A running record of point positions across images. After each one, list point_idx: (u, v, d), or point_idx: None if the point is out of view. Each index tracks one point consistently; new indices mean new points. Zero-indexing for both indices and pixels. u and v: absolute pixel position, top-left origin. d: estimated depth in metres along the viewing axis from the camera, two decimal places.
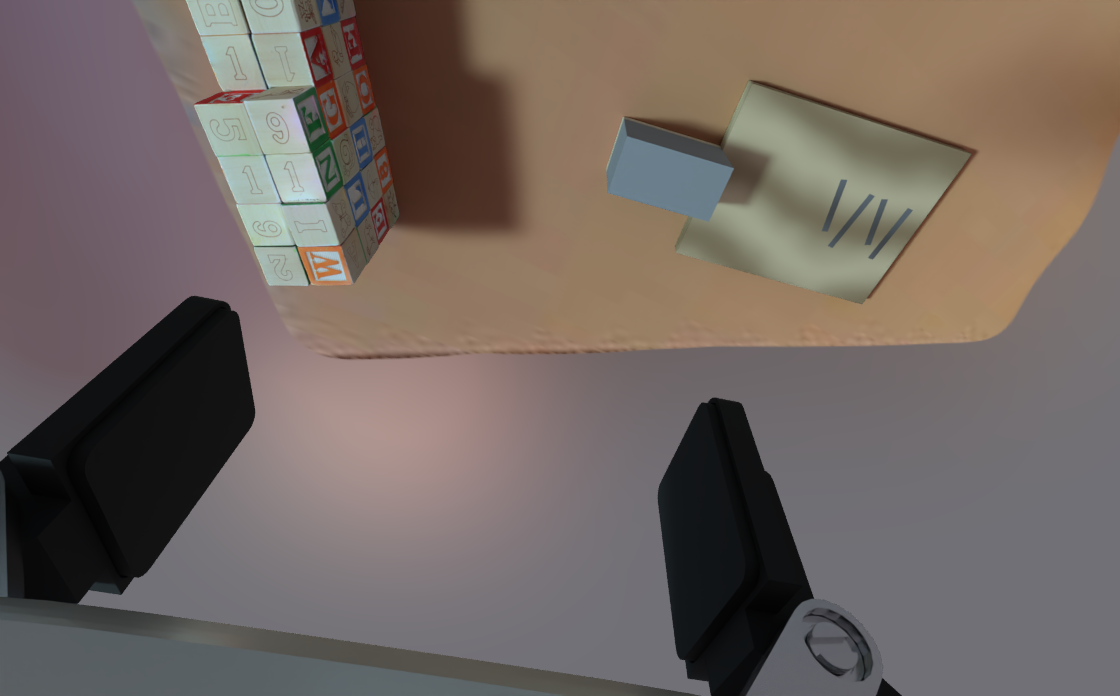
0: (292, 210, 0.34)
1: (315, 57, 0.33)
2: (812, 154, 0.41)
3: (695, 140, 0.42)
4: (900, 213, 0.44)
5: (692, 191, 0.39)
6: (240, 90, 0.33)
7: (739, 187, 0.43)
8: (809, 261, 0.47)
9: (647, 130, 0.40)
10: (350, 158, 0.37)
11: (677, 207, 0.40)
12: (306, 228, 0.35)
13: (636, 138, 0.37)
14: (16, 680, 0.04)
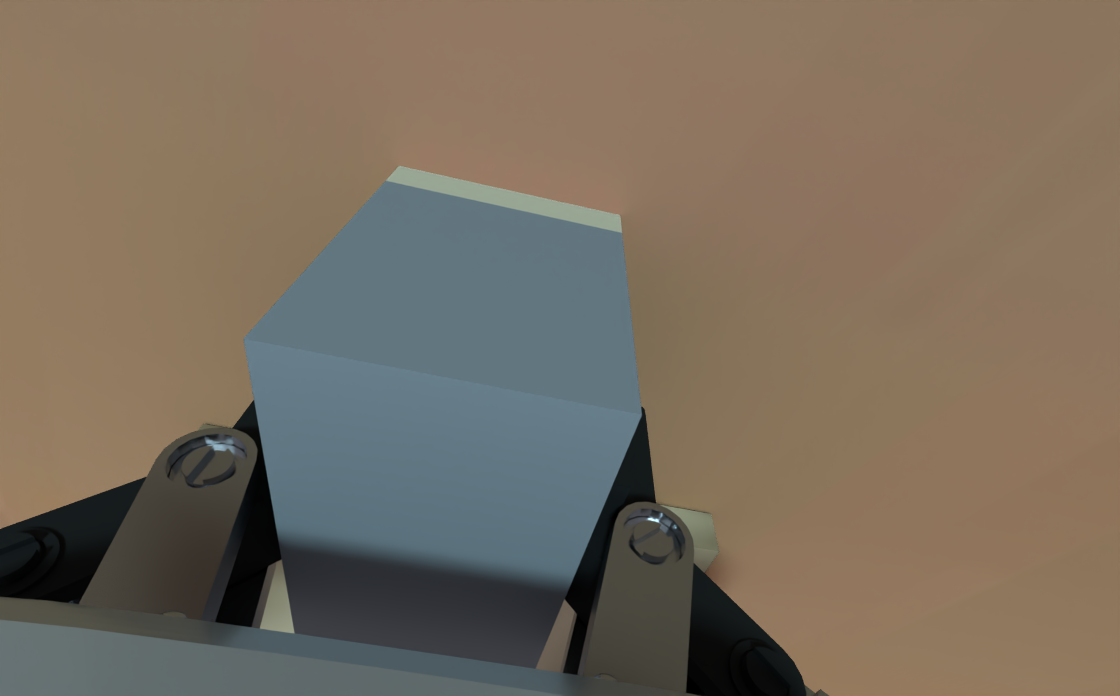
0: None
1: None
2: (549, 647, 0.18)
3: None
4: None
5: (404, 635, 0.09)
6: None
7: None
8: None
9: None
10: None
11: (314, 605, 0.09)
12: None
13: None
14: (16, 680, 0.04)
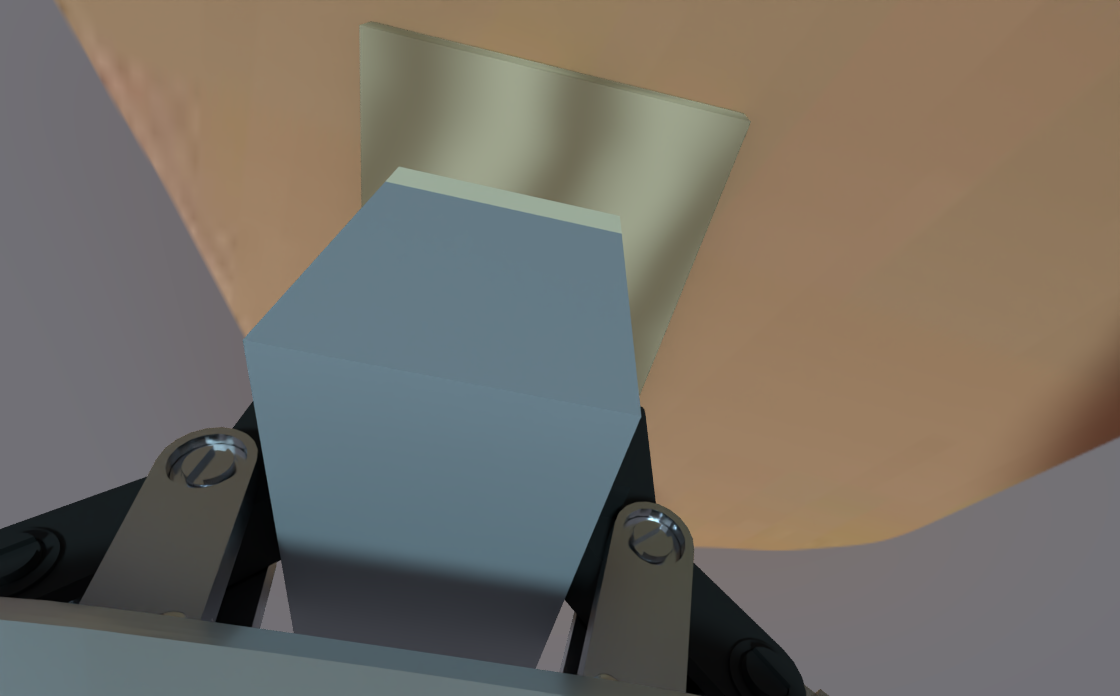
0: None
1: None
2: None
3: None
4: None
5: (403, 636, 0.09)
6: None
7: (541, 146, 0.20)
8: None
9: None
10: None
11: (313, 606, 0.09)
12: None
13: None
14: (16, 680, 0.04)
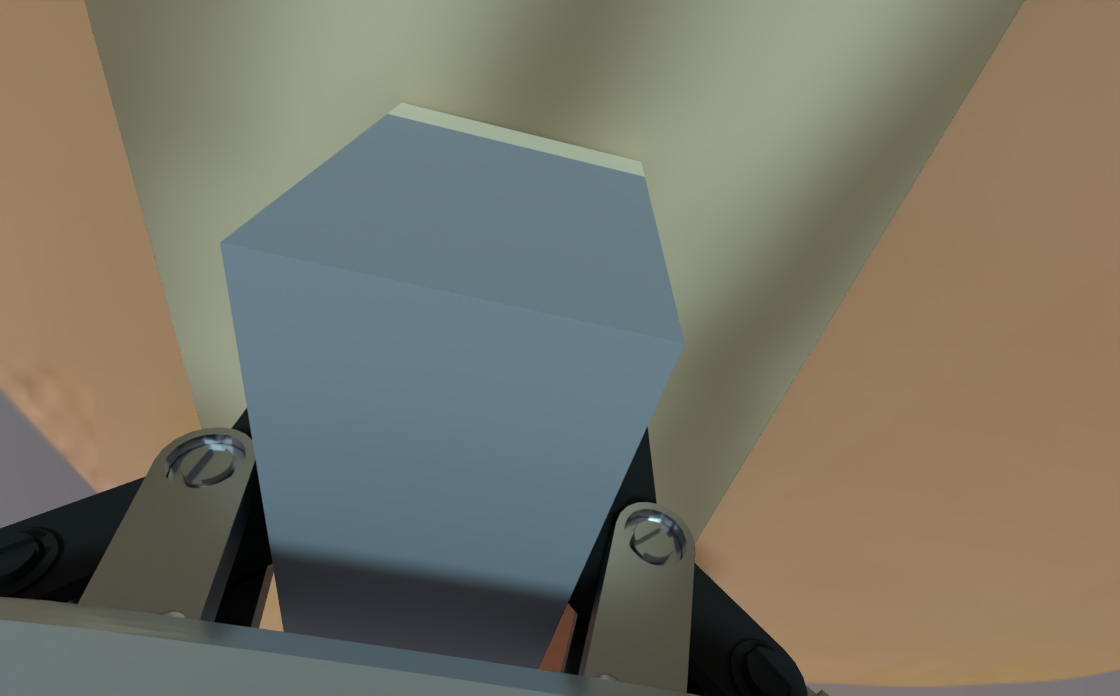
0: None
1: None
2: (706, 220, 0.10)
3: None
4: None
5: (401, 614, 0.08)
6: None
7: None
8: None
9: None
10: None
11: (302, 578, 0.08)
12: None
13: None
14: (16, 680, 0.04)
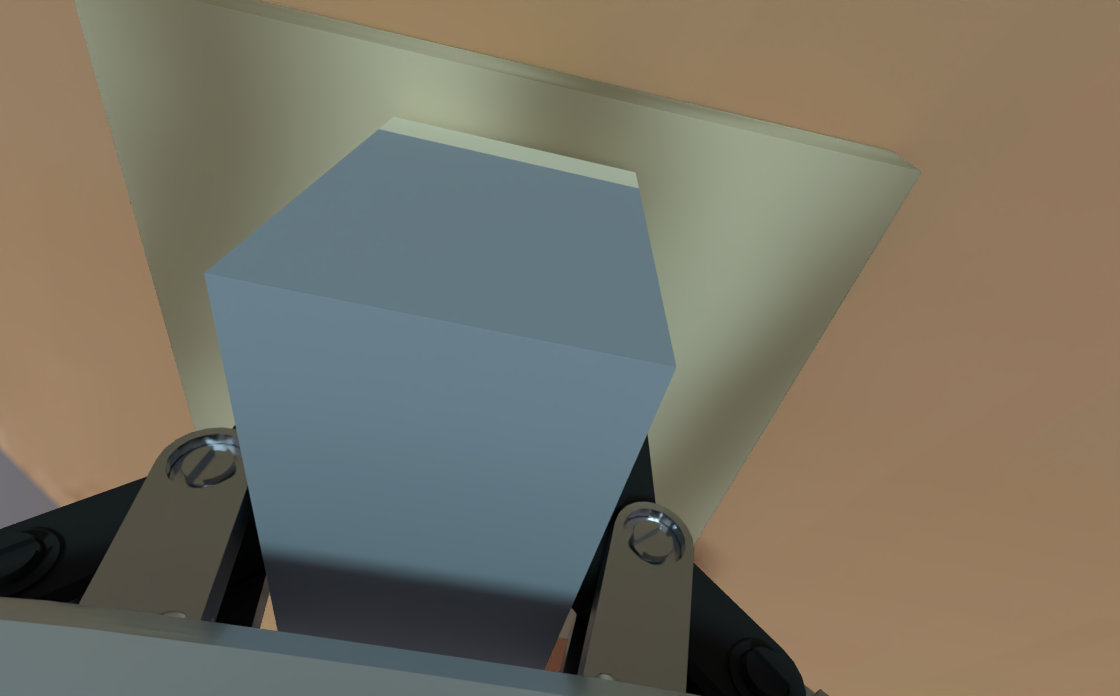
0: None
1: None
2: None
3: None
4: None
5: (399, 632, 0.08)
6: None
7: None
8: None
9: None
10: None
11: (298, 598, 0.08)
12: None
13: None
14: (17, 680, 0.04)
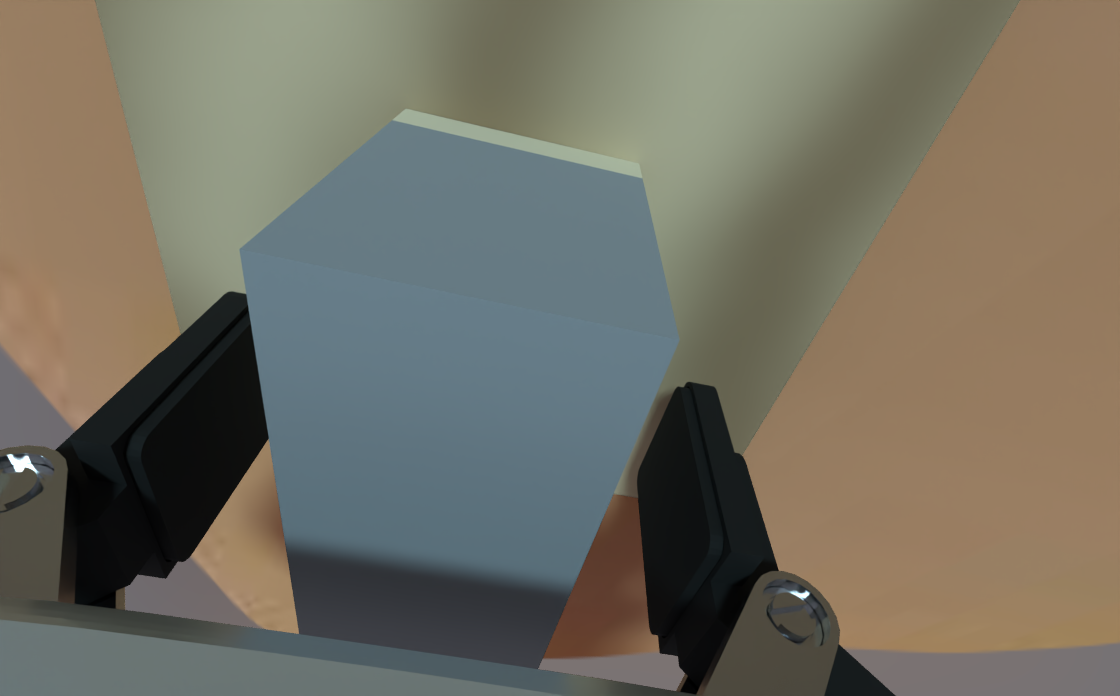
0: None
1: None
2: (775, 42, 0.09)
3: None
4: None
5: (411, 603, 0.09)
6: None
7: None
8: (274, 200, 0.10)
9: None
10: None
11: (315, 570, 0.08)
12: None
13: None
14: (16, 680, 0.04)
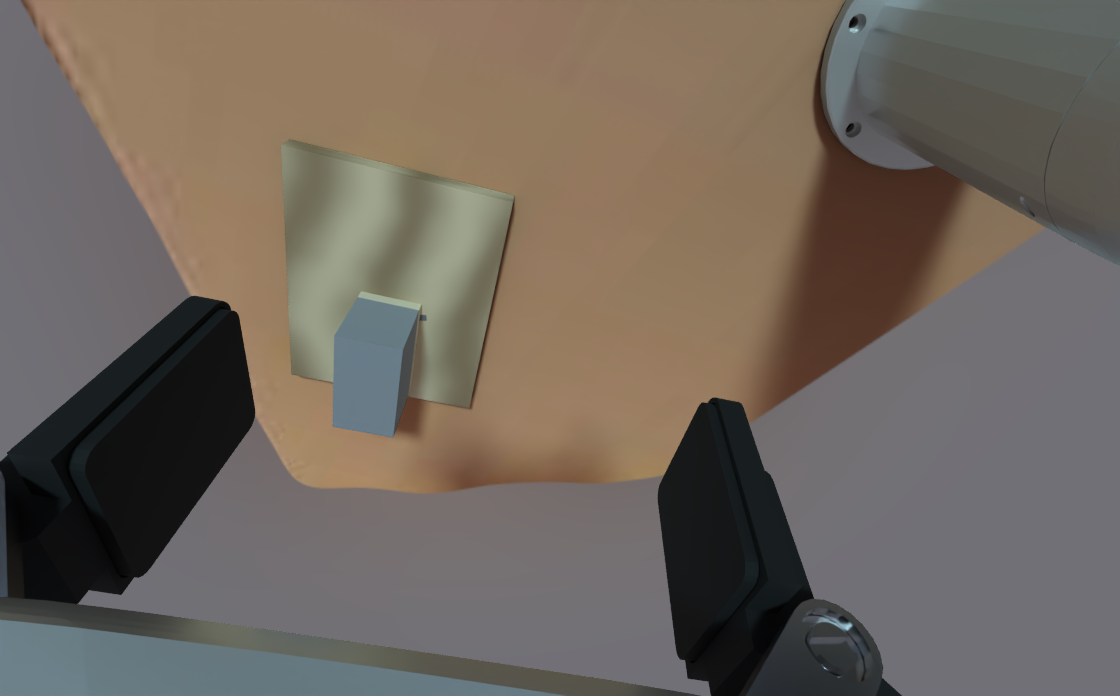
0: None
1: None
2: (447, 281, 0.37)
3: (411, 373, 0.41)
4: None
5: (360, 409, 0.37)
6: None
7: (394, 212, 0.34)
8: (324, 310, 0.39)
9: (411, 342, 0.37)
10: None
11: (339, 399, 0.36)
12: None
13: (402, 357, 0.34)
14: (16, 680, 0.04)
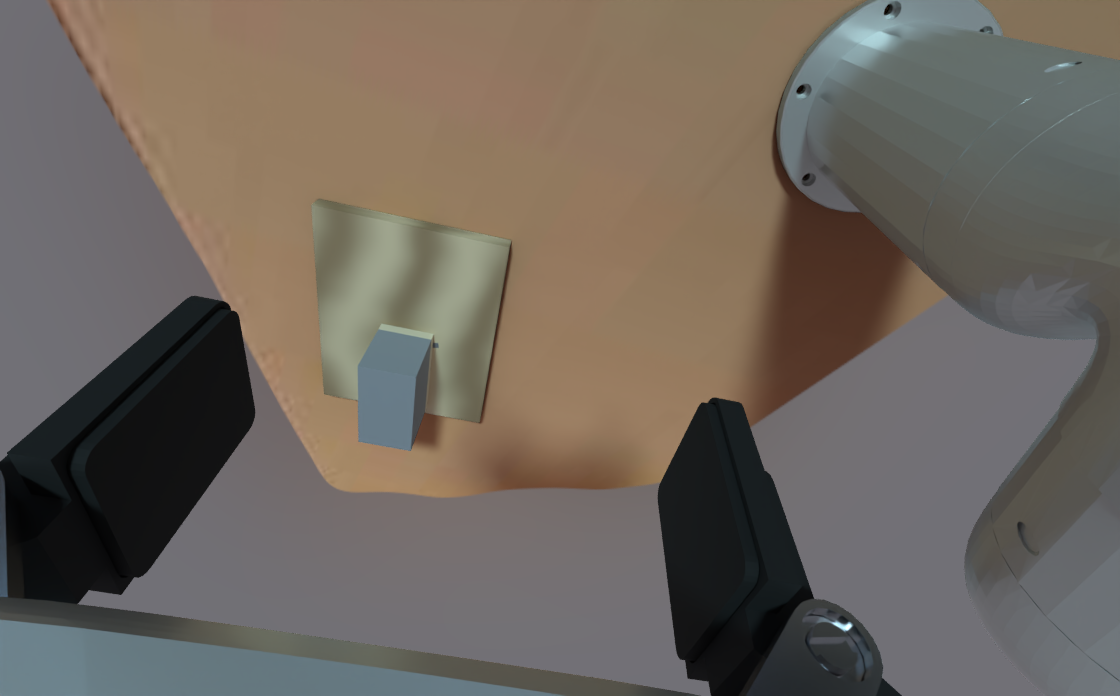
0: None
1: None
2: (455, 314, 0.42)
3: (426, 393, 0.46)
4: None
5: (382, 427, 0.42)
6: None
7: (407, 257, 0.40)
8: (350, 339, 0.44)
9: (425, 368, 0.43)
10: None
11: (363, 418, 0.42)
12: None
13: (415, 382, 0.40)
14: (16, 680, 0.04)
